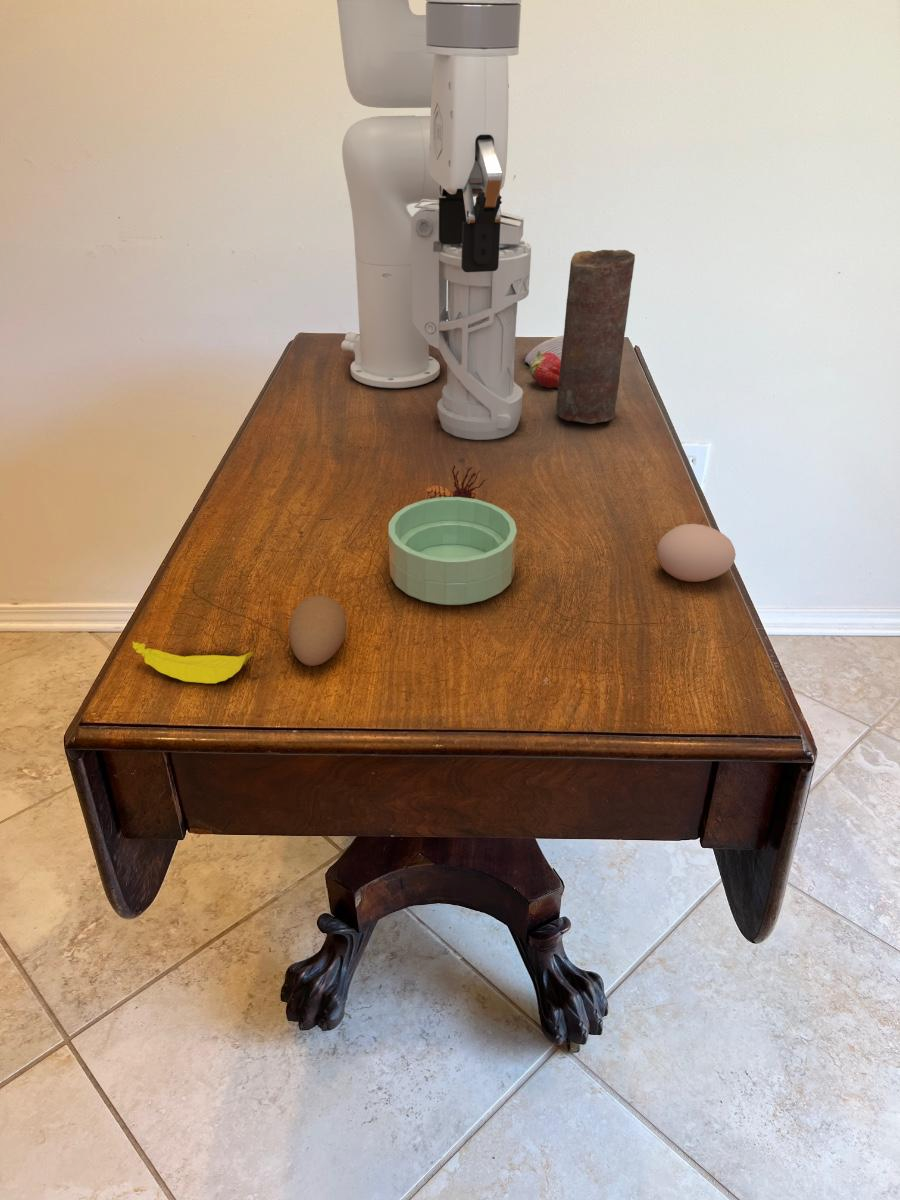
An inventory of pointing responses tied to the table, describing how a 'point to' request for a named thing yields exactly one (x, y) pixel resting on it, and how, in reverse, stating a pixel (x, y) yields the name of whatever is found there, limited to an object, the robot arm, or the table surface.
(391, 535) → the bowl
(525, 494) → the table surface
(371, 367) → the robot arm
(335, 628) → the egg
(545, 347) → the seashell
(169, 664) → the yellow banana
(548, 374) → the fruit
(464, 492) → the insect
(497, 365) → the lantern
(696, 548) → the egg
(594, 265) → the candle
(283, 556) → the table surface
